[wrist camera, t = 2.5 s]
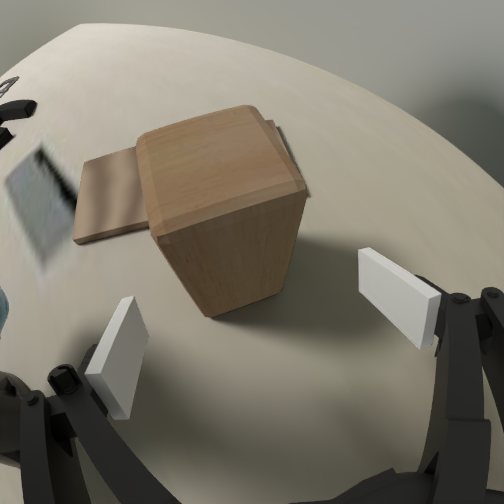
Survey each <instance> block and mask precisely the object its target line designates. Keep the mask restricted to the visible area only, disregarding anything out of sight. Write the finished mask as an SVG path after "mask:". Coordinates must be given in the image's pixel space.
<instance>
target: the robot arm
mask: <svg viewBox="0 0 504 504" xmlns="http://www.w3.org/2000/svg"><path fill="white" fill-rule="evenodd" d="M358 261H359V292H360V293H362V294H363V295H364V296H365V297H366V298H367V299H368V300H369V301H370V302H371V303H372V304H373V305H374V306H375V307H376V308H377V309H378V310H379V311H381V312H382V313H383V314H384V315H385V316H386V317H387V318H388V319H389V320H390V321H391V322H392V323H393V324H394V325H395V326H396V327H397V328H398V329H399V330H400V331H401V332H402V333H403V334H404V335H405V336H406V337H407V338H408V339H409V340H410V341H411V342H412V343H413V344H414V345H415V346H416V347H417V348H418V349H419V350H421V349H424V348H426V347H428V346H430V345H432V342H433V338H434V334H435V335H436V336H437V337H438V338H439V341H438V345H437V349H436V353H435V357H437V363H436V376H435V386H434V394H433V402H432V409H431V415H430V421H429V427H428V433H427V438H426V442H425V447H424V452H423V456H422V460H421V463H420V465H419V468H418V470H417V472H404V473H398V474H396V473H395V471H394V469H393V468H391V469H389V470H386V471H384V472H382V473H380V474H377V475H375V476H373V477H370V478H368V479H365V480H363V481H361V482H360V483H358V484H357V485H355V486H354V487H352V488H351V489H349V490H347V491H346V492H344V493H342V494H341V495H339V496H337V497H336V498H334V499H331V500H326V501H314V502H298V503H290V504H504V492H502V491H497V490H491V489H486V486H487V479H488V470H489V460H490V445H491V422H490V420H489V419H484V392H483V375H482V366H483V369H484V372H485V374H486V377H487V380H488V382H489V385H490V388H491V391H492V394H493V397H494V400H495V403H496V407H497V410H498V413H499V417H500V420H501V424H502V428H503V432H504V293H503V292H502V291H501V290H499V289H497V288H494V287H487V288H484V289H483V290H482V292H481V297H480V298H478V299H472V300H471V298H470V297H469V296H468V295H466V294H463V293H452V294H448V293H447V292H445V291H444V290H442V289H441V288H439V287H438V286H436V285H435V284H433V283H432V282H430V281H429V280H427V279H426V278H424V277H421V276H418V275H413V274H411V273H409V272H408V271H406V270H405V269H403V268H402V267H400V266H399V265H397V264H395V263H394V262H392V261H391V260H389V259H387V258H386V257H384V256H383V255H381V254H379V253H378V252H376V251H374V250H373V249H371V248H369V247H368V248H364V249H359V250H358ZM8 312H9V304H8V300H7V297H6V295H5V294H4V292H3V290H2V289H1V287H0V334H1V331H2V328H3V326H4V323H5V321H6V319H7V316H8ZM0 338H1V337H0ZM148 338H149V334H148V332H147V329H146V327H145V324H144V322H143V319H142V316H141V314H140V311H139V308H138V305H137V302H136V300H135V297H134V296H131V297H125V298H122V300H121V301H120V303H119V305H118V307H117V309H116V311H115V313H114V315H113V316H112V318H111V320H110V322H109V324H108V326H107V328H106V330H105V332H104V334H103V336H102V338H101V340H100V342H99V344H94V345H93V346H92V347H91V348H90V349H89V350H88V351H87V353H86V355H85V357H84V359H83V361H82V364H81V365H80V367H79V369H78V371H77V373H76V371H75V370H74V368H73V367H72V366H71V365H69V364H64V365H60V366H58V367H56V368H54V369H53V370H52V371H51V372H50V373H49V375H48V382H49V384H50V385H51V387H52V388H53V390H54V391H55V393H56V394H57V395H54V396H51V397H47V398H46V397H45V395H44V394H43V393H42V392H41V391H40V390H34V391H31V392H30V391H29V390H28V388H27V387H26V386H25V384H24V383H23V382H22V381H21V380H20V379H19V378H17V377H16V376H14V375H13V374H10V373H7V372H2V371H0V463H2V464H5V465H9V466H12V467H21V481H22V490H23V499H24V504H91V501H90V498H89V495H88V492H87V489H86V485H85V482H84V478H83V474H82V471H81V467H80V462H79V458H78V454H77V449H76V444H75V439H74V437H78V438H79V440H80V442H81V443H82V445H83V447H84V449H85V450H86V452H87V454H88V455H89V457H90V459H91V460H92V462H93V464H94V465H95V467H96V468H97V470H98V471H99V473H100V474H101V476H102V477H103V479H104V480H105V482H106V483H107V485H108V486H109V488H110V489H111V490H112V492H113V493H114V494H115V496H116V497H117V498H118V500H119V501H120V502H121V504H182V503H181V502H179V501H178V500H177V499H176V498H175V497H174V496H173V495H172V494H171V493H170V492H169V491H168V490H167V489H166V488H165V487H164V486H163V485H162V484H161V483H160V482H159V481H158V480H157V479H156V478H155V477H154V476H153V475H152V474H151V473H150V472H149V470H148V469H147V468H146V467H145V466H144V465H143V464H142V463H141V462H140V460H139V459H138V458H137V457H136V456H135V455H134V453H133V452H132V451H131V450H130V449H129V447H128V446H127V445H126V444H125V443H124V441H123V440H122V439H121V437H120V436H119V435H118V434H117V432H116V431H115V430H114V428H113V427H112V426H111V424H110V423H109V422H108V420H107V419H106V417H107V413H108V412H109V414H110V415H111V416H112V418H113V419H114V420H129V418H130V413H131V408H132V404H133V399H134V395H135V390H136V386H137V382H138V378H139V373H140V369H141V365H142V361H143V357H144V354H145V350H146V346H147V342H148Z"/></svg>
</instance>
